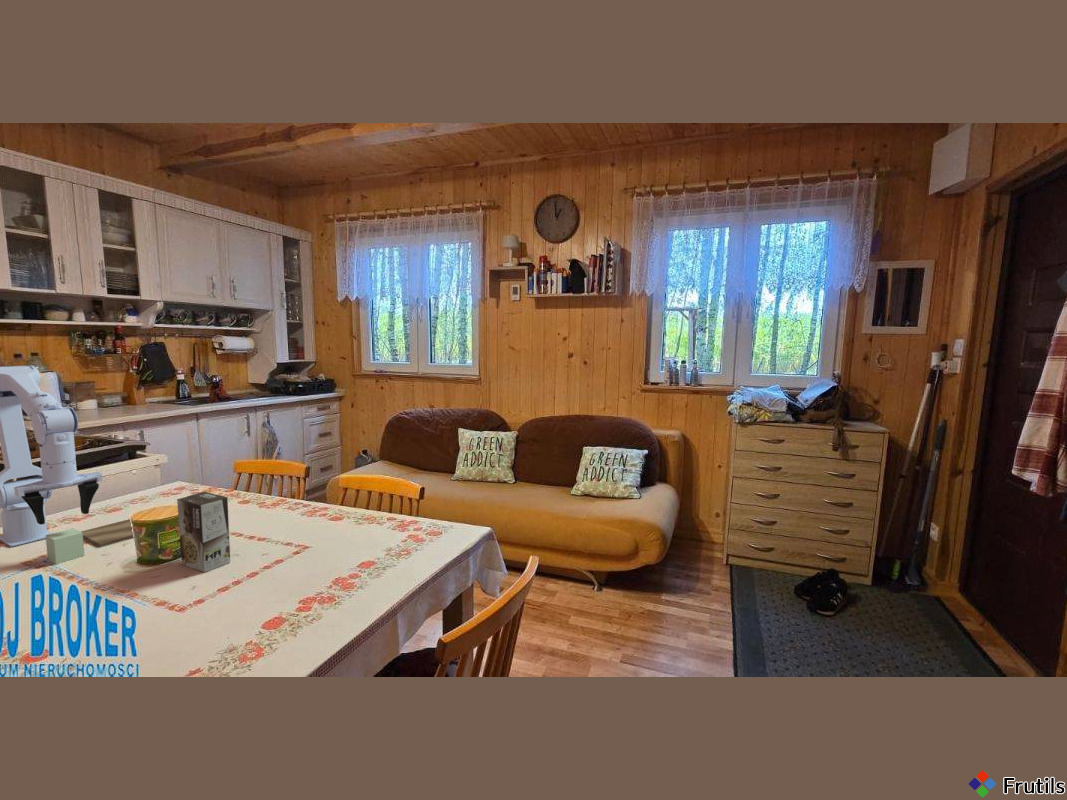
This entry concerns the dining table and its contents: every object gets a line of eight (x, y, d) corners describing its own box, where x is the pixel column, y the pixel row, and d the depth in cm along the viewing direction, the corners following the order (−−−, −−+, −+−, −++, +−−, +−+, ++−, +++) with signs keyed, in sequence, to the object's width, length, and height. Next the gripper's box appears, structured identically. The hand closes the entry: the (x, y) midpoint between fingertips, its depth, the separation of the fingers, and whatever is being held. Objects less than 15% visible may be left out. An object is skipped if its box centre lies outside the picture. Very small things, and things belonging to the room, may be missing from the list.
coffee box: (232, 561, 115) (229, 497, 113) (204, 573, 109) (200, 505, 107) (208, 553, 119) (204, 490, 117) (179, 564, 113) (176, 498, 111)
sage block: (47, 559, 113) (45, 535, 112) (75, 551, 117) (73, 528, 117) (56, 564, 111) (54, 540, 110) (84, 556, 115) (82, 532, 114)
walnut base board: (78, 535, 126) (77, 532, 126) (137, 519, 137) (137, 517, 137) (100, 547, 120) (99, 544, 120) (160, 530, 131) (160, 527, 131)
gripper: (20, 471, 102) (26, 532, 104) (106, 457, 114) (110, 512, 116) (8, 465, 105) (14, 524, 107) (93, 453, 118) (97, 506, 120)
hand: (63, 518), depth 112 cm, fingers open, 7 cm apart
